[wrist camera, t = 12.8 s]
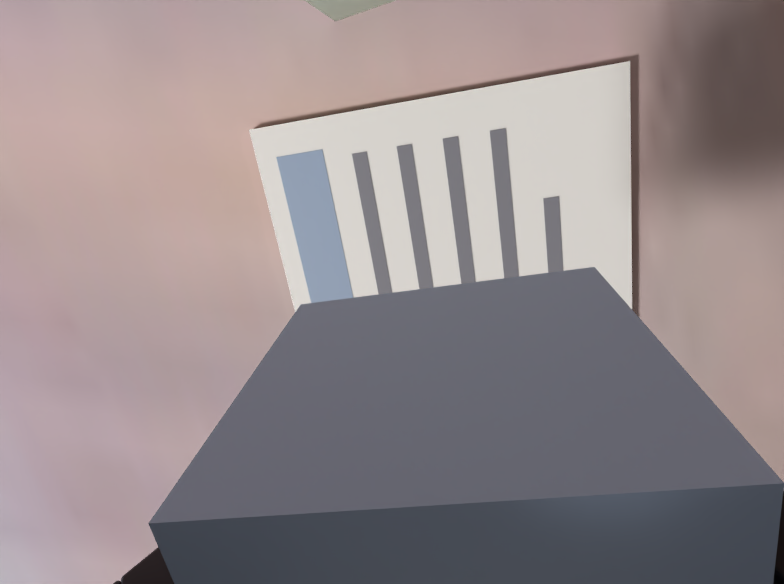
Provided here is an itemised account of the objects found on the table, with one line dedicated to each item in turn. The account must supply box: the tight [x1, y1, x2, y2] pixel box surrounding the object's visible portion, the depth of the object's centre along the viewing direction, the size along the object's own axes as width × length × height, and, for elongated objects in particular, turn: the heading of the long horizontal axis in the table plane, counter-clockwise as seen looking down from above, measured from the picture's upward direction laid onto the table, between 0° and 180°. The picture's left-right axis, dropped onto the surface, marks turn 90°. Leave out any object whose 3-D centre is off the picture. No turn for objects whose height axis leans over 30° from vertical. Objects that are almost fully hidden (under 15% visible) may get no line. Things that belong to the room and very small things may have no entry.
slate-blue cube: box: [149, 267, 784, 584], centre depth 7 cm, size 5×5×5 cm
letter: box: [249, 61, 632, 312], centre depth 18 cm, size 12×11×1 cm
